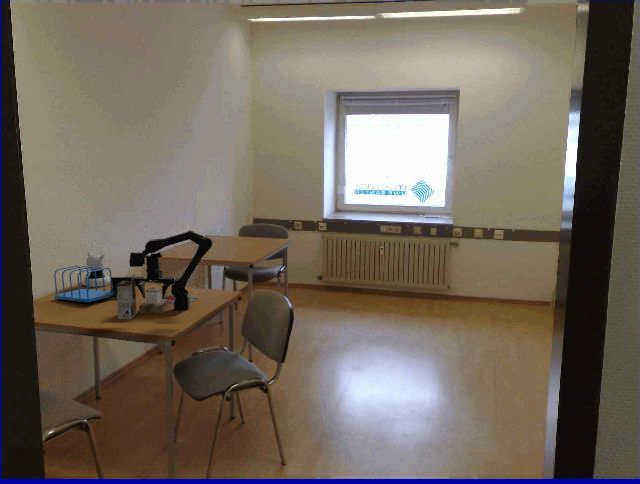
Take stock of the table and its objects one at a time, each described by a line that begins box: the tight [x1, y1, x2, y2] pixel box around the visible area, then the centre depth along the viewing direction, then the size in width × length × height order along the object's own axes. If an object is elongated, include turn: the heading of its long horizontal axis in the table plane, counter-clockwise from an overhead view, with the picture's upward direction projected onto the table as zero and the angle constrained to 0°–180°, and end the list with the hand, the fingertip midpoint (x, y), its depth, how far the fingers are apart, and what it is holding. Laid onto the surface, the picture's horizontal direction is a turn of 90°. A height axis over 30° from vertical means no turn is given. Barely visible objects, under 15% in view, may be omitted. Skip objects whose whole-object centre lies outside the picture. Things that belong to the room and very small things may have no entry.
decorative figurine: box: [82, 251, 110, 288], centre depth 319 cm, size 15×15×20 cm
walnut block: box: [138, 299, 169, 314], centre depth 270 cm, size 10×13×4 cm
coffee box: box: [116, 280, 137, 320], centre depth 257 cm, size 9×6×16 cm
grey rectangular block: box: [109, 276, 132, 299], centre depth 294 cm, size 11×4×10 cm, turn 102°
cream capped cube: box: [145, 287, 162, 304], centre depth 269 cm, size 5×5×7 cm
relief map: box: [145, 290, 202, 305], centre depth 292 cm, size 25×15×2 cm, turn 53°
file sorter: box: [53, 265, 114, 303], centre depth 291 cm, size 25×17×15 cm
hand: (153, 298), depth 270 cm, fingers open, 9 cm apart
